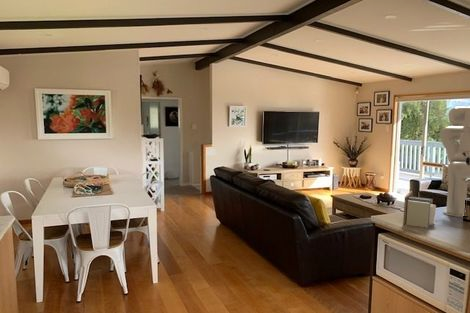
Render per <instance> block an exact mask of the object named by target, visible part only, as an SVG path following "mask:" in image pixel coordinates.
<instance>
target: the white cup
mask: <svg viewBox="0 0 470 313" xmlns="http://www.w3.org/2000/svg"><path fill="white" fill-rule="evenodd" d="M436 208H437V205H436V204H433V203H432V204H430V215H429V225H434V221H435V215H436Z"/></svg>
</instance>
